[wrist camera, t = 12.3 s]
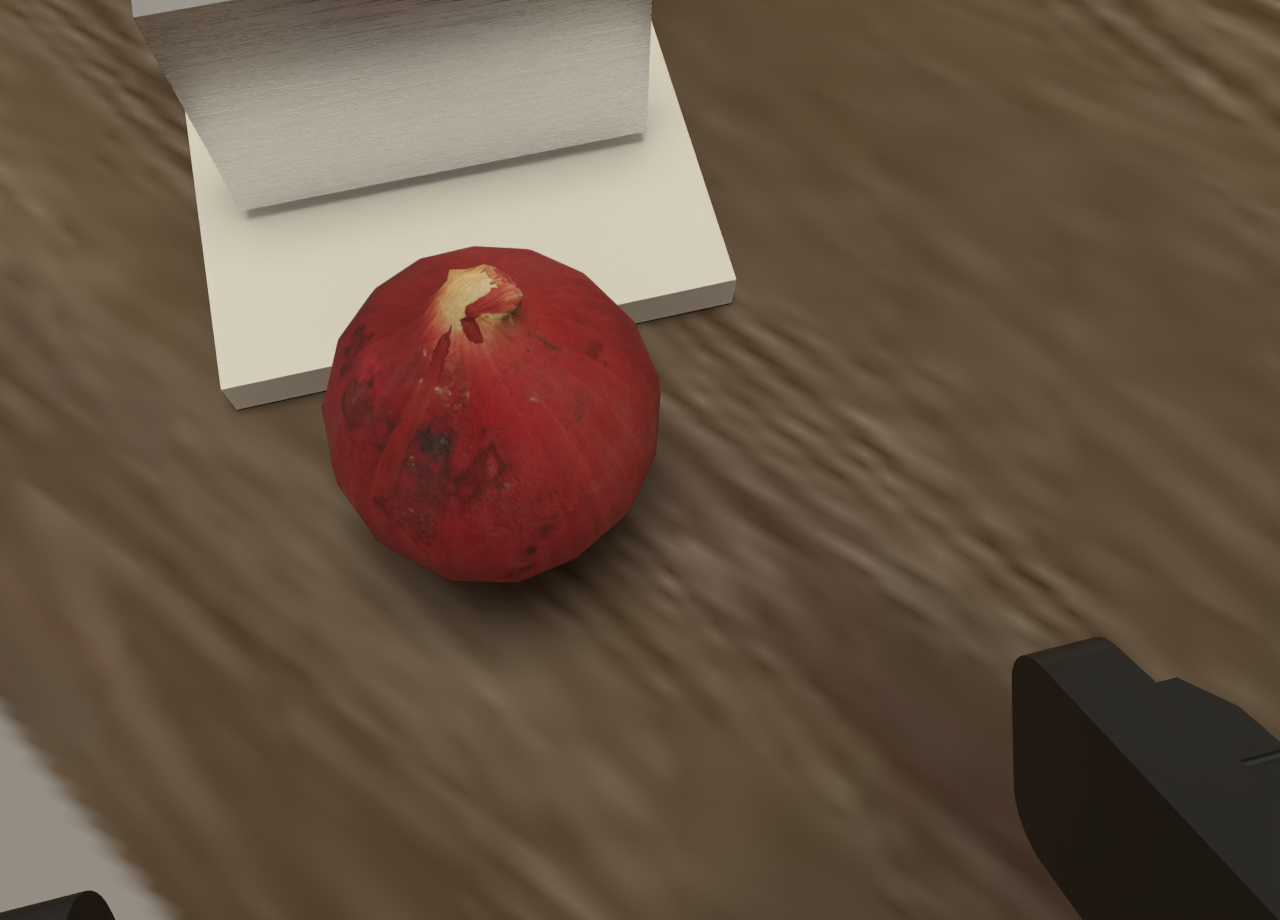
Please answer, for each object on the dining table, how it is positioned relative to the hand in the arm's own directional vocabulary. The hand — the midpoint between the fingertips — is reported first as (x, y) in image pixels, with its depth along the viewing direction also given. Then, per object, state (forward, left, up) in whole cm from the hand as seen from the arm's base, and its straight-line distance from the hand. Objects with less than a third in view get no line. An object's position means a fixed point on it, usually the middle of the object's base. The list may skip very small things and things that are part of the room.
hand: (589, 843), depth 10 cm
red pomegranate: (-4, -7, -12) cm, 14 cm away
